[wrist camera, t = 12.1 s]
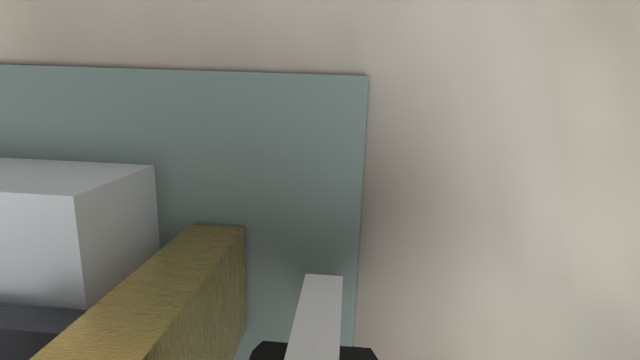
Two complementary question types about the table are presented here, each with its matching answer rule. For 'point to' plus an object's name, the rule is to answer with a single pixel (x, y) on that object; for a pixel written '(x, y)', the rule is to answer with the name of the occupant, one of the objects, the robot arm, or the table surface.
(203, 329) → the notched wooden block
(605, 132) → the table surface
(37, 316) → the strap
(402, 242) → the table surface
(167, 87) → the clamping fixture
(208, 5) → the table surface
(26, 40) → the table surface
